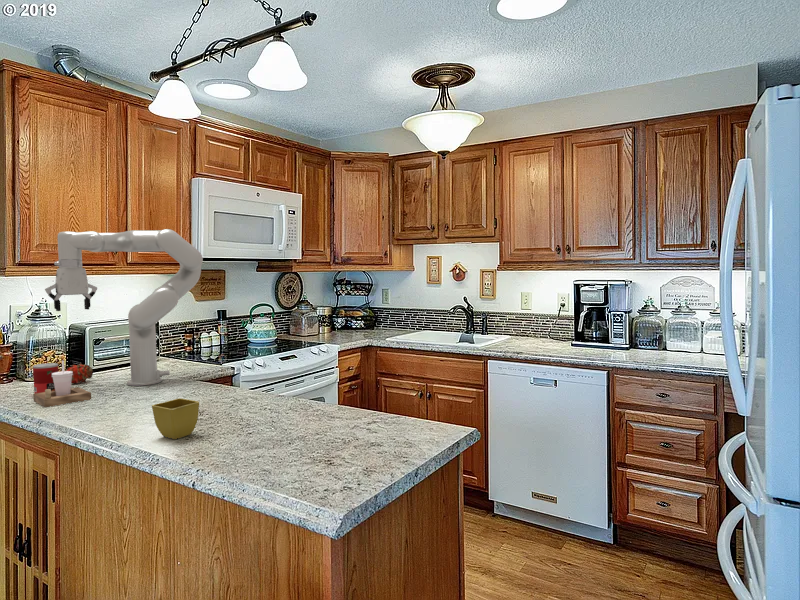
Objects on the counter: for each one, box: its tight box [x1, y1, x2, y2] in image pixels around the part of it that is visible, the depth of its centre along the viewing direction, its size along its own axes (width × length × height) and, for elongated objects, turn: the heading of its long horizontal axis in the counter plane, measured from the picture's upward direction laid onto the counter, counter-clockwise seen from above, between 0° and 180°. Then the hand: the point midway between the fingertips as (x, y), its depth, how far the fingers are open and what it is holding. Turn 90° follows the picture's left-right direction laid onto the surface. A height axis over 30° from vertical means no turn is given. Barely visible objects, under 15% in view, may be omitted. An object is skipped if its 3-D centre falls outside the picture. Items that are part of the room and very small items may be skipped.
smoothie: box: [52, 360, 73, 396], centre depth 189 cm, size 6×6×14 cm
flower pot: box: [151, 398, 200, 440], centre depth 146 cm, size 9×9×9 cm
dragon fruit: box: [65, 362, 94, 384], centre depth 219 cm, size 8×8×12 cm
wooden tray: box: [33, 386, 92, 408], centre depth 189 cm, size 14×14×6 cm
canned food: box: [32, 362, 60, 394], centre depth 199 cm, size 8×8×11 cm
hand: (72, 310), depth 205 cm, fingers open, 9 cm apart
